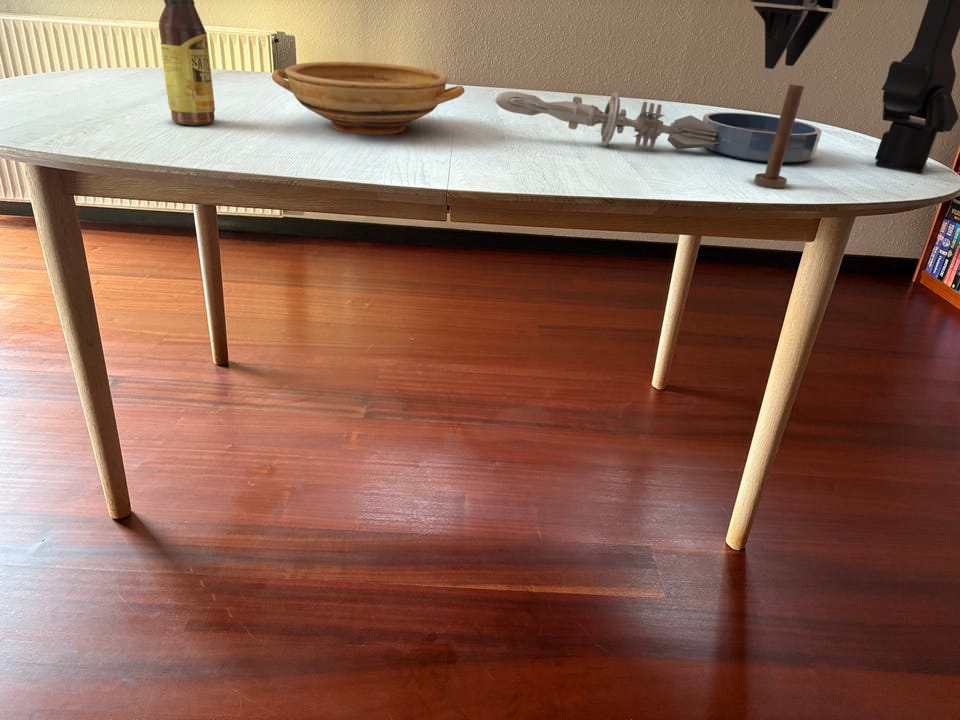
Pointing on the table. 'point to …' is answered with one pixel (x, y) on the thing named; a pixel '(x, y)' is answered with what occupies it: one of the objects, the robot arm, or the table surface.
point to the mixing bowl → (760, 137)
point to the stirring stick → (781, 140)
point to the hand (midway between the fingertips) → (779, 66)
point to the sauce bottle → (186, 64)
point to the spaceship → (615, 120)
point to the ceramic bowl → (366, 93)
